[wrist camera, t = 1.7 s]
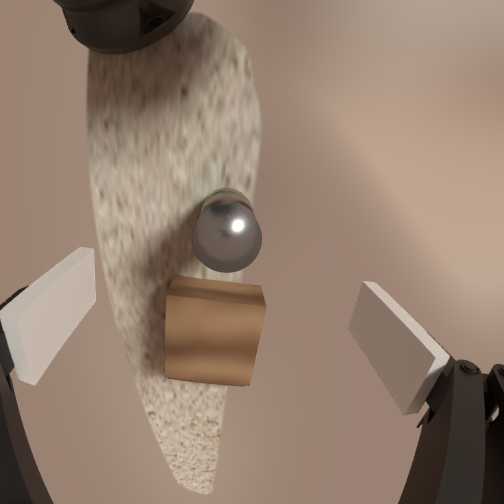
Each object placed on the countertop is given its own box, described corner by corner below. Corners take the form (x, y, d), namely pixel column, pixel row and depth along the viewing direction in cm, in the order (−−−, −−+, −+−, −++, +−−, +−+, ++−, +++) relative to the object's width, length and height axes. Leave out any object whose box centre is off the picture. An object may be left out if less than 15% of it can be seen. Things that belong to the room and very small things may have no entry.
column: (205, 183, 31) (194, 199, 21) (254, 190, 32) (268, 209, 21) (199, 231, 33) (187, 269, 22) (247, 237, 33) (257, 277, 23)
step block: (173, 275, 34) (166, 294, 29) (260, 285, 35) (266, 306, 30) (170, 366, 38) (165, 391, 33) (243, 374, 39) (246, 399, 34)
